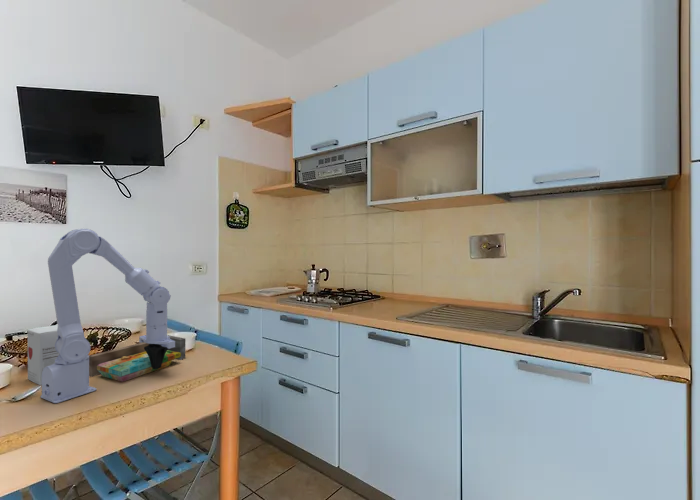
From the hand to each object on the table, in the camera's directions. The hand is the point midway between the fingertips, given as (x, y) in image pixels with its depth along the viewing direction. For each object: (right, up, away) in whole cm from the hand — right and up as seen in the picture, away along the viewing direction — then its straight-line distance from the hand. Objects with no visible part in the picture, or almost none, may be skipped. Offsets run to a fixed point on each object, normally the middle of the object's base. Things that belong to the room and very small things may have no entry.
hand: (156, 368), depth 109 cm
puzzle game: (-7, -2, +3) cm, 8 cm away
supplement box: (-29, -2, -4) cm, 29 cm away
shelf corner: (-9, -1, +6) cm, 11 cm away
